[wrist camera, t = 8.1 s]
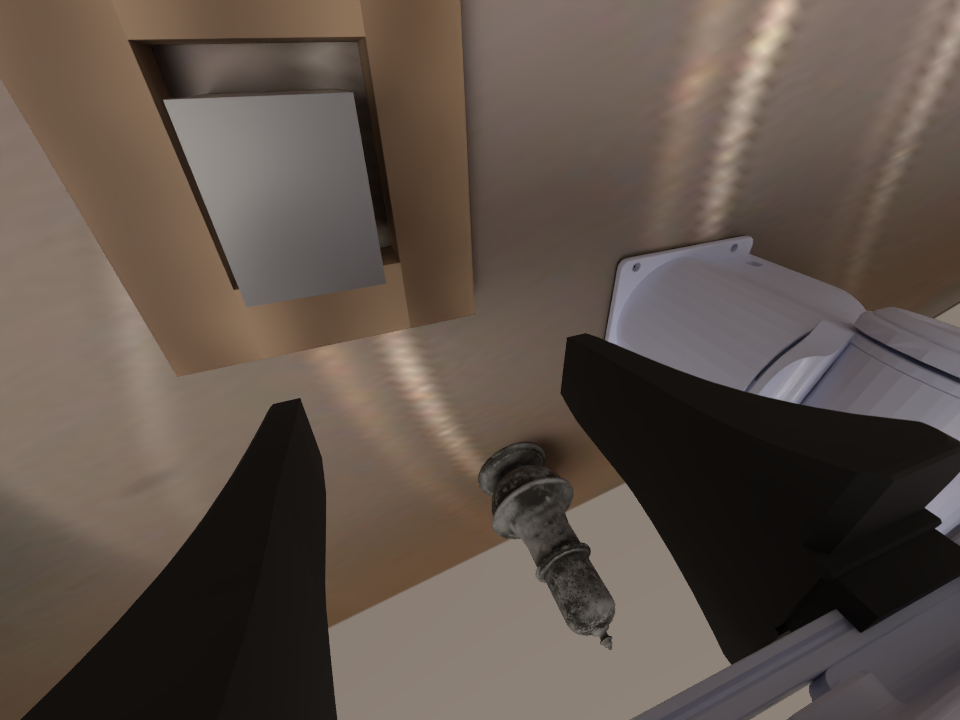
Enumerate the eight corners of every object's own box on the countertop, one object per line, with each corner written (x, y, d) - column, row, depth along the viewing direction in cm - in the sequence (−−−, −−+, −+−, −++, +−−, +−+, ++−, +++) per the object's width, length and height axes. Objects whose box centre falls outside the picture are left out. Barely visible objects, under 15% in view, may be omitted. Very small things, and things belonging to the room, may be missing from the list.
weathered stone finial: (512, 504, 32) (600, 678, 22) (457, 488, 28) (535, 686, 19) (562, 452, 30) (679, 616, 21) (512, 428, 27) (625, 612, 18)
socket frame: (436, -84, 12) (455, -107, 11) (461, 296, 20) (474, 314, 18) (-67, -118, 9) (-139, -157, 8) (188, 349, 17) (177, 376, 15)
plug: (336, 89, 14) (353, 92, 10) (363, 233, 17) (386, 283, 13) (207, 93, 13) (163, 99, 9) (260, 246, 16) (246, 307, 12)
